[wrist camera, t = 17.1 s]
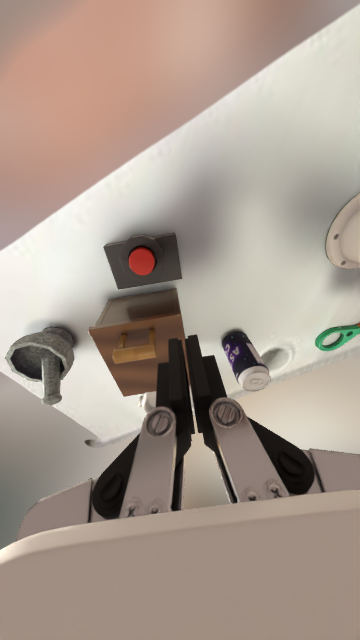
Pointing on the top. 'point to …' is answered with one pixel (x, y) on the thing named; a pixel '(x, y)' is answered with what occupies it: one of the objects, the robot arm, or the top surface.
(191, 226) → the top surface
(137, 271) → the button
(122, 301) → the brown open box
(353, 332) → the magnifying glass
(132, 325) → the wooden box lid
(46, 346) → the mortar and pestle
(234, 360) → the beverage can
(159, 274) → the control block
